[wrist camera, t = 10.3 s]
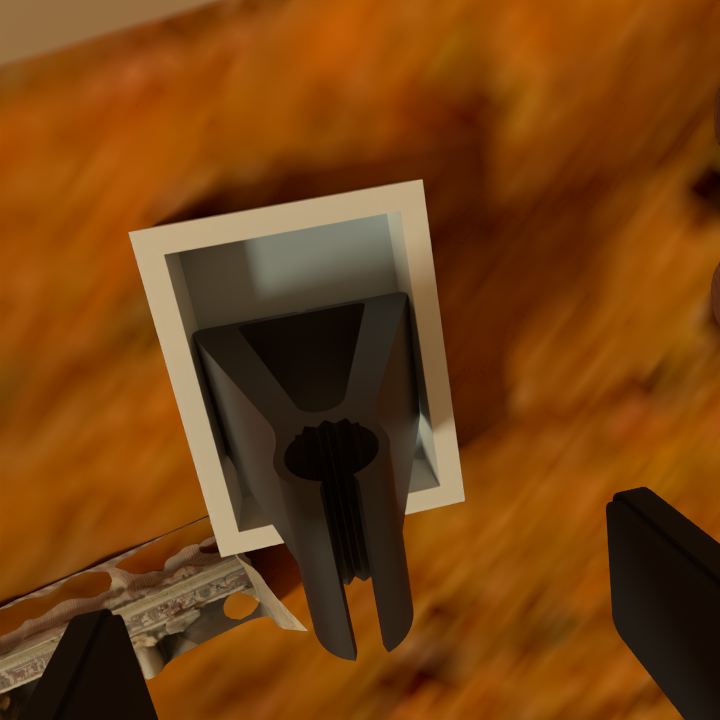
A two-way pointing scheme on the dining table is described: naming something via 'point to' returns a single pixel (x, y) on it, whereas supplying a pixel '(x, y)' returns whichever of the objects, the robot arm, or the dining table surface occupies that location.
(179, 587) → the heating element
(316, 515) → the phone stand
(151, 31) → the dining table surface
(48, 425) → the dining table surface
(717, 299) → the glasses
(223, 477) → the cream rectangular tray
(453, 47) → the dining table surface
